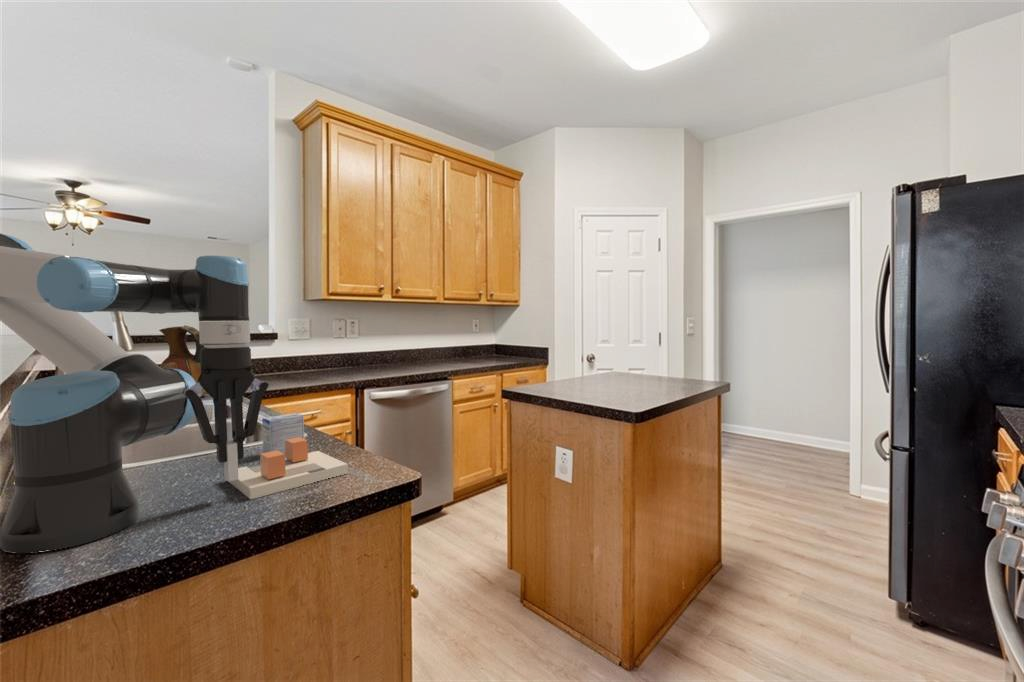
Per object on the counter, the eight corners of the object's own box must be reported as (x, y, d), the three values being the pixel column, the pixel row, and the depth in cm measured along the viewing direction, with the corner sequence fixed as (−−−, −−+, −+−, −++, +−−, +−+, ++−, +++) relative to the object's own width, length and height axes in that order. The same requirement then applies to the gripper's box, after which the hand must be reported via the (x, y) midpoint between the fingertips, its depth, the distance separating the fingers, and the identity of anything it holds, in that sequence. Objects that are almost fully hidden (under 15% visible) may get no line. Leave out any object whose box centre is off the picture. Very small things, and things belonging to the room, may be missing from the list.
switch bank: (250, 499, 80) (250, 487, 80) (227, 480, 90) (226, 470, 90) (347, 473, 93) (347, 463, 93) (318, 459, 103) (318, 450, 103)
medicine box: (296, 447, 113) (295, 412, 113) (305, 450, 110) (304, 414, 110) (262, 454, 107) (261, 418, 107) (271, 458, 104) (269, 420, 104)
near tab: (268, 479, 83) (267, 457, 83) (261, 474, 86) (260, 453, 86) (285, 475, 86) (284, 454, 85) (277, 470, 88) (277, 450, 88)
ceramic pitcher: (178, 394, 197) (175, 325, 196) (225, 393, 198) (222, 324, 196) (143, 402, 177) (139, 326, 176) (195, 402, 178) (192, 325, 177)
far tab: (293, 462, 93) (292, 443, 93) (285, 458, 96) (285, 439, 96) (307, 459, 96) (307, 440, 95) (300, 455, 98) (299, 436, 98)
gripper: (185, 348, 72) (192, 494, 74) (273, 344, 82) (278, 474, 83) (175, 347, 78) (182, 483, 79) (259, 343, 87) (263, 465, 88)
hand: (231, 478), depth 81 cm, fingers closed
